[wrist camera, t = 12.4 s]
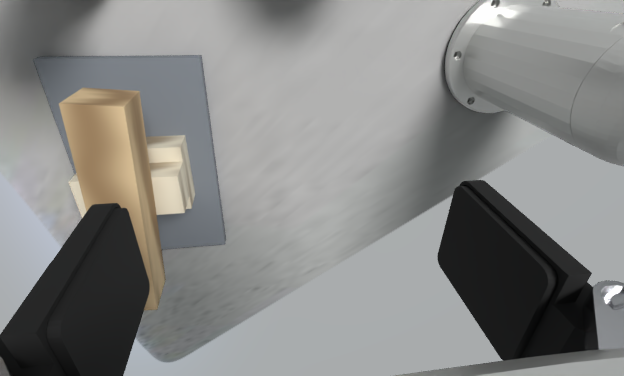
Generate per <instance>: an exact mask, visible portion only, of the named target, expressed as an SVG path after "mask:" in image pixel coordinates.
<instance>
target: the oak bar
mask: <svg viewBox="0 0 624 376" xmlns="http://www.w3.org/2000/svg"><path fill="white" fill-rule="evenodd" d="M59 106H60V110H61V114H62V118H63V122H64V126H65V130H66V134H67V138H68V142H69V146H70V149H71V153H72V157H73V161H74V165H75V169H76V173H77V177H78V181H79V185H80V189H81V192H82V196H83V200H84V204H85V208H86V212H87V211H88V209H89V208H90V207H91V206H92V205H93V204H106V203H118V204H119V205H120V207H121V208H127V210H128V212H129V215H130V218H131V222H132V225H133V228H134V232H135V235H136V239H137V242H138V245H139V249H140V252H141V255H142V259H143V262H144V266H145V269H146V272H147V276H148V279H149V284H150V290H149V296H148V299H147V302H146V305H145V308H144V310H157V308H158V305H159V301H160V298H161V294H162V290H163V287H164V283H165V280H166V279H165V272H164V265H163V258H162V250H161V243H160V236H159V229H158V222H157V214H156V207H155V200H154V193H153V185H152V178H151V171H150V164H149V156H148V149H147V142H146V135H145V127H144V120H143V113H142V106H141V98H140V91H131V90H115V89H98V88H82V89H80V90H79V91H77V92H76V93H74V94H72V95H71V96H69V97H68V98H66V99H65V100H63V101H62V102H60V103H59Z"/></svg>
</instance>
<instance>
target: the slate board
mask: <svg viewBox="0 0 624 376" xmlns="http://www.w3.org/2000/svg"><path fill="white" fill-rule="evenodd" d="M33 61H34V64H35V66H36V69H37V72H38V75H39V77H40V80H41V83H42V86H43V88H44V91H45V94H46V96H47V99H48V102H49V105H50V107H51V110H52V113H53V116H54V118H55V121H56V124H57V127H58V129H59V132H60V135H61V137H62V140H63V143H64V146H65V148H66V151H67V154H68V157H69V159H70V162H71V165H72V168H73V170H74V173H75V174H76V169H75V165H74V161H73V157H72V153H71V149H70V146H69V142H68V138H67V134H66V130H65V126H64V122H63V118H62V114H61V110H60V106H59V103H60V102H62V101H63V100H65V99H66V98H68V97H69V96H71V95H72V94H74V93H76V92H77V91H79V90H80V89H82V88H98V89H115V90H131V91H140V98H141V106H142V113H143V120H144V127H145V135H146V137H151V136H177V135H185V138H186V143H187V149H188V155H189V161H190V166H191V172H192V178H193V184H194V189H195V197H194V201H193V205H192V209H186V210H185V213H178V214H163V215H157V222H158V229H159V236H160V243H161V249H172V248H185V247H197V246H210V245H222V244H225V241H226V236H225V229H224V221H223V214H222V206H221V199H220V191H219V184H218V176H217V169H216V161H215V154H214V146H213V139H212V131H211V124H210V116H209V109H208V101H207V93H206V86H205V78H204V71H203V63H202V56H201V55H187V56H59V57H38V58H35V59H33Z"/></svg>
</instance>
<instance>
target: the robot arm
mask: <svg viewBox="0 0 624 376" xmlns="http://www.w3.org/2000/svg"><path fill="white" fill-rule="evenodd" d="M491 3H492V4H491ZM454 54H455V55H454ZM445 75H446V81H447V84H448V87H449V90H450V91H451V93H452V95H453V96H454V98H455V99H456V100H457V101H458V102H459V103H460V104H462V105H464V106H465V107H467V108H469V109H471V110H473V111H476V112H481V113H496V112H501V111H507V112H509V113H511V114H513V115H515V116H517V117H519V118H521V119H523V120H525V121H527V122H529V123H531V124H533V125H534V126H536V127H538V128H540V129H542V130H544V131H546V132H548V133H550V134H552V135H554V136H556V137H558V138H560V139H562V140H564V141H565V142H567V143H569V144H571V145H573V146H575V147H578V148H579V149H581V150H583V151H585V152H587V153H589V154H591V155H593V156H595V157H597V158H599V159H602V160H604V161H606V162H609V163H612V164H616V165H620V166H624V13H614V12H603V11H593V10H582V9H571V8H561V7H560V6H559V5H558V3H557V2H556V0H480V1H479V2H478V3H477V4H476V5H474V6H473V7H472V8H471V9H470V10H469V11H468V12H467V14H466V15H465V16H464V17H463V19H462V20H461V21H460V23H459V25H458V26H457V28H456V30H455V31H454V33H453V35H452V38H451V40H450V43H449V45H448V49H447V54H446V59H445ZM438 262H439V265H440V267H441V269H442V270H443V271H444V273H445V275H446V276H447V278H448V279H449V281H450V282H451V284H452V285H453V287H454V288H455V290H456V291H457V293H458V294H459V296H460V297H461V299H462V300H463V302H464V303H465V305H466V306H467V308H468V309H469V311H470V312H471V314H472V315H473V317H474V318H475V320H476V321H477V323H478V324H479V326H480V328H481V329H482V331H483V332H484V333H485V335H486V337H487V338H488V339H489V341H490V343H491V344H492V346H493V347H494V349H495V350H496V352H497V353H498V355H499V356H500V358H501V359H502V360H503V361H498V362H491V363H483V364H476V365H469V366H461V367H454V368H446V369H439V370H432V371H424V372H418V373H410V374H403V375H396V376H624V283H622V282H618V281H607V280H606V281H601V282H598V283H597V284H595V285H594V287H592V286H591V285H590V284H588V283H587V281H588V279H589V277H590V276H591V274H592V273H591V272H590V271H589V270H587V269H586V268H585V267H584V266H583V265H582V264H580V263H579V262H578V261H577V260H576V259H575V258H573V257H572V256H571V255H570V254H569V253H568V252H567V251H565V250H564V249H563V248H562V247H561V246H560V245H558V244H557V243H556V242H555V241H554V240H552V238H550V237H549V236H548V235H547V234H546V233H545V232H543V231H542V230H541V229H540V228H539V227H538V226H536V225H535V224H534V223H533V222H532V221H530V220H529V219H528V218H527V217H526V216H525V215H524V214H522V213H521V212H520V211H519V210H518V209H516V208H515V207H514V206H513V205H512V204H511V203H510V202H509V201H507V200H506V199H505V198H504V197H503V196H501V195H500V194H499V193H498V192H497V191H496V190H495V189H493V188H492V187H491V186H490V185H489V184H488V183H486V182H485V181H483V180H476V181H464V182H462V183H461V184H460V186H458V187H456V189H455V191H454V194H453V198H452V202H451V206H450V210H449V214H448V217H447V221H446V225H445V229H444V233H443V237H442V240H441V245H440V248H439V252H438ZM149 290H150V284H149V279H148V276H147V272H146V269H145V266H144V262H143V259H142V255H141V252H140V249H139V245H138V242H137V239H136V235H135V232H134V228H133V225H132V222H131V218H130V215H129V212H128V210H127V208H121V207H120V205H119V204H118V203H106V204H93V205H92V206H91V207H90V208H89V209H88V211H87V212H86V214H85V215H84V217H83V218H82V219H81V221H80V222H79V224H78V225H77V227H76V228H75V229H74V231H73V232H72V234H71V235H70V237H69V238H68V239H67V241H66V242H65V244H64V245H63V247H62V248H61V250H60V251H59V252H58V254H57V255H56V257H55V258H54V260H53V261H52V262H51V263H50V264H49V266H48V267H47V269H46V270H45V272H44V273H43V274H42V276H41V277H40V279H39V280H38V282H37V283H36V284H35V286H34V287H33V289H32V290H31V292H30V293H29V294H28V296H27V297H26V299H25V300H24V302H23V303H22V304H21V306H20V307H19V309H18V310H17V312H16V313H15V315H14V316H13V317H12V319H11V320H10V322H9V323H8V324H7V326H6V327H5V329H4V330H3V332H2V333H1V334H0V376H123V374H124V371H125V368H126V365H127V362H128V358H129V355H130V351H131V349H132V345H133V342H134V340H135V336H136V333H137V330H138V327H139V324H140V321H141V318H142V314H143V311H144V308H145V305H146V302H147V299H148V296H149Z"/></svg>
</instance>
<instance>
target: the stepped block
mask: <svg viewBox="0 0 624 376" xmlns="http://www.w3.org/2000/svg"><path fill="white" fill-rule="evenodd" d="M146 142H147V149H148V156H149V164H150V171H151V178H152V185H153V193H154V200H155V207H156V214H157V215H163V214H178V213H185V210H186V209H192V205H193V201H194V197H195V189H194V184H193V178H192V172H191V166H190V161H189V155H188V149H187V143H186V138H185V135H177V136H151V137H146ZM69 185H70V187H71V190H72V193H73V195H74V198H75V200H76V203H77V206H78V208H79V211H80V214H81V216H82V218H83V217H84V215H85V214H86V208H85V204H84V200H83V196H82V192H81V189H80V185H79V181H78V177H77V173H76V174H75V175H74V176H73V177H72V179H71V180H70V181H69Z"/></svg>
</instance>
